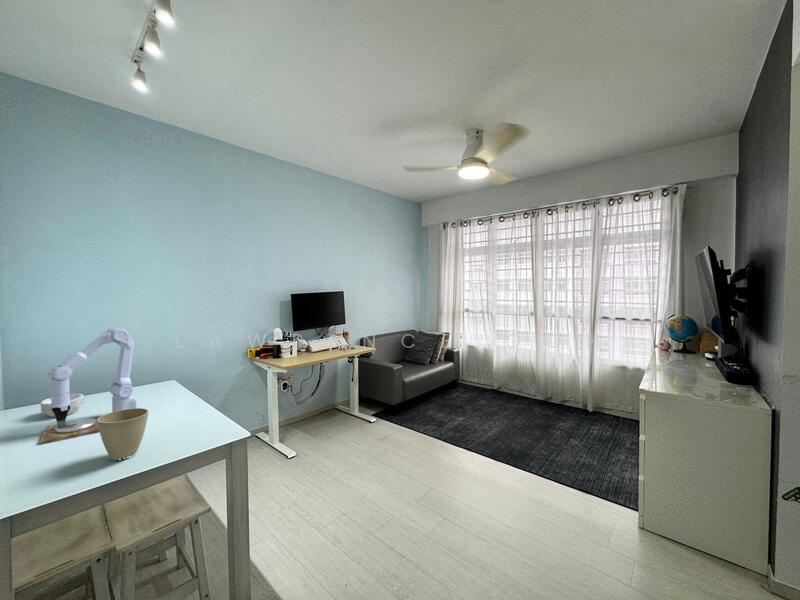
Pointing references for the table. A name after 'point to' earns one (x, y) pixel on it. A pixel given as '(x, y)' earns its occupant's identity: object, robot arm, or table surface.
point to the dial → (74, 425)
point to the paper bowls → (76, 402)
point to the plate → (52, 436)
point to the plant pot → (122, 431)
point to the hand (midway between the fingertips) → (61, 423)
